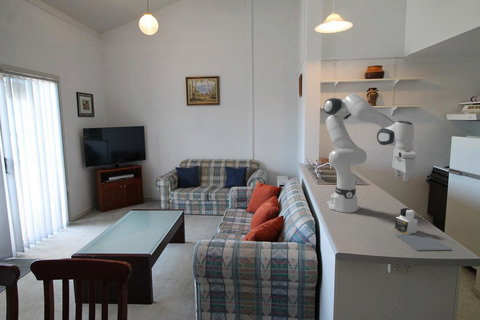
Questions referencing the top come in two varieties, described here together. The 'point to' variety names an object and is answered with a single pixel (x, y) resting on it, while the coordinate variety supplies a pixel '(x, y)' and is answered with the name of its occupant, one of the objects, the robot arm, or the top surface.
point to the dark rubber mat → (422, 242)
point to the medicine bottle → (406, 222)
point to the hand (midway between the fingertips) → (401, 179)
